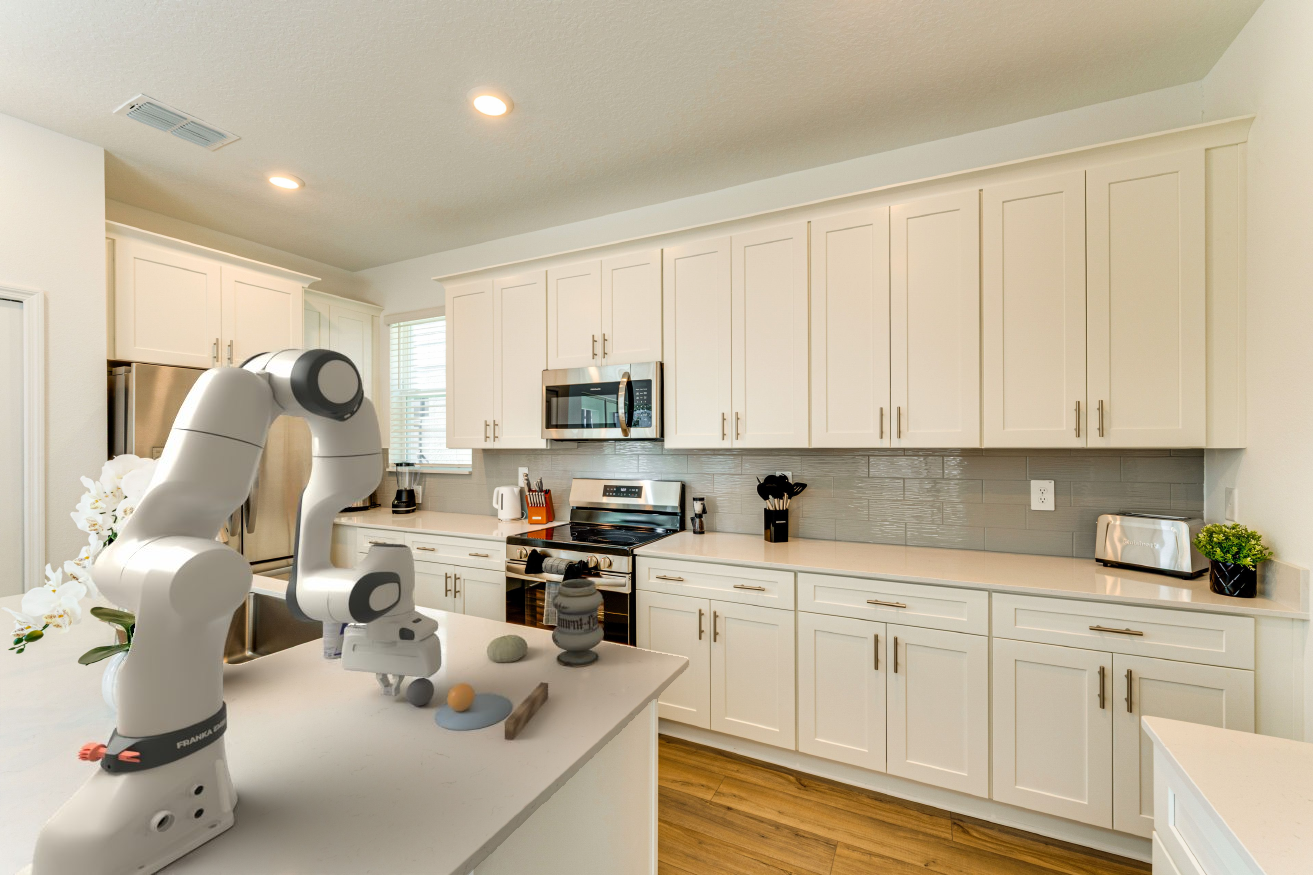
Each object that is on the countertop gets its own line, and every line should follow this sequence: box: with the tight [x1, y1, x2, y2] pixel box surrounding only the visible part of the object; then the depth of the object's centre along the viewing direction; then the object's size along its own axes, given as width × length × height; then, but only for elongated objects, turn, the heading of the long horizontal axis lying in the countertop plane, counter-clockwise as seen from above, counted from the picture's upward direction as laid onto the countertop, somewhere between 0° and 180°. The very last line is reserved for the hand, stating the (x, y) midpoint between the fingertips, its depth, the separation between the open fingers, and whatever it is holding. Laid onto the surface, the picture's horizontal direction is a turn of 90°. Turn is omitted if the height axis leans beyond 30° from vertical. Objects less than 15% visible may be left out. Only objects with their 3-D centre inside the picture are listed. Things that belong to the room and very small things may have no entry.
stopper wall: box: [504, 681, 549, 741], centre depth 105 cm, size 16×2×3 cm, turn 169°
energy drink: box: [322, 621, 350, 659], centre depth 136 cm, size 5×5×12 cm
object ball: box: [446, 682, 475, 712], centre depth 108 cm, size 5×5×5 cm
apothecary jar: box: [551, 578, 605, 668], centre depth 133 cm, size 12×12×18 cm
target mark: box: [434, 693, 513, 731], centre depth 108 cm, size 14×14×1 cm
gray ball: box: [405, 677, 435, 707], centre depth 110 cm, size 5×5×5 cm
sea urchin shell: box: [486, 634, 528, 663], centre depth 134 cm, size 9×8×8 cm
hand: (390, 694), depth 111 cm, fingers closed
